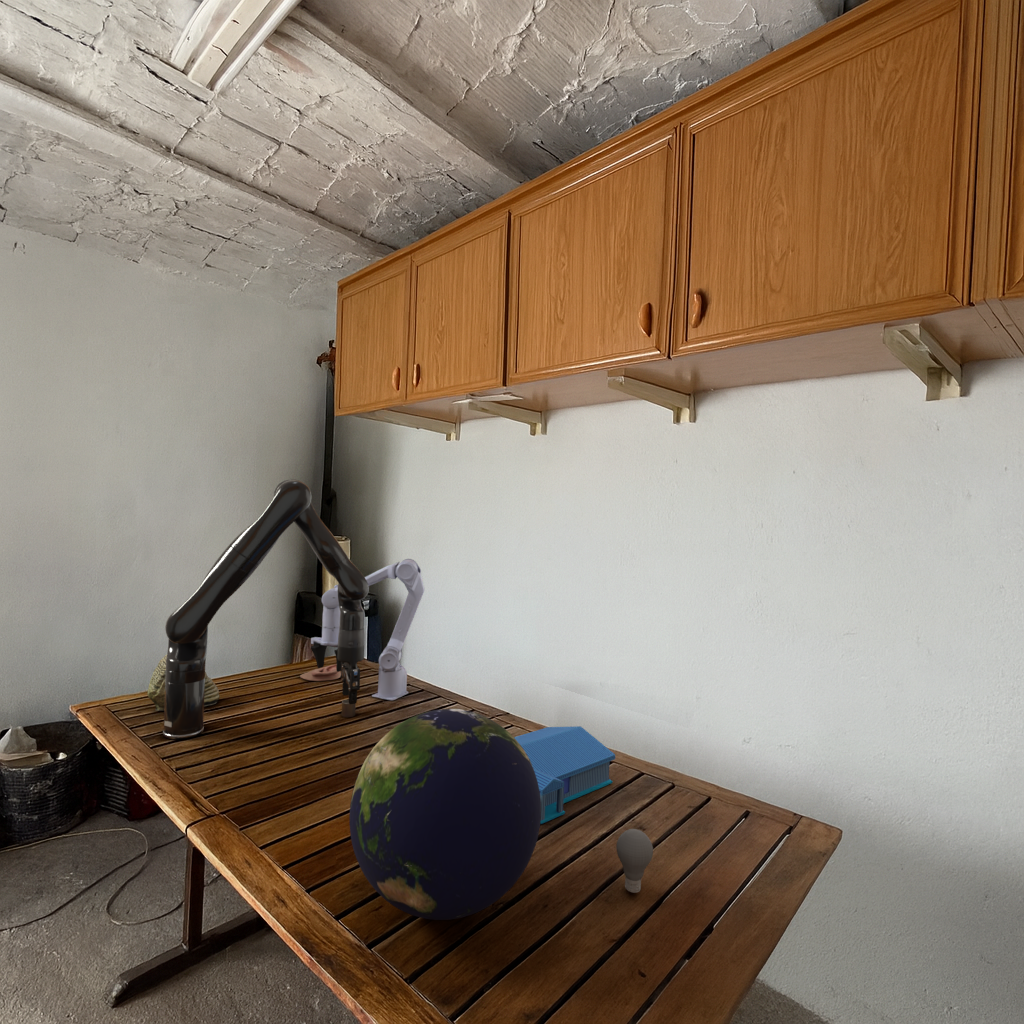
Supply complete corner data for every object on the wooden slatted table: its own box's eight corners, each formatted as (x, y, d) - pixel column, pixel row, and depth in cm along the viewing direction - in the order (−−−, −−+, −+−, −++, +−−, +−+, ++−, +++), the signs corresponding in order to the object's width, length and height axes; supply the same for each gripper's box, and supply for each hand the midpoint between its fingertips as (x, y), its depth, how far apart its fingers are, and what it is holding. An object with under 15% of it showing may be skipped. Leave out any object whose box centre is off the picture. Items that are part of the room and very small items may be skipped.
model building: (493, 845, 118) (495, 791, 117) (419, 795, 136) (421, 749, 136) (624, 787, 144) (626, 744, 144) (547, 752, 162) (548, 713, 162)
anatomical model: (295, 667, 216) (312, 659, 227) (295, 679, 216) (312, 670, 227) (331, 671, 213) (346, 663, 224) (330, 683, 213) (346, 674, 224)
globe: (303, 931, 92) (311, 727, 92) (410, 834, 120) (417, 677, 120) (490, 1000, 81) (500, 768, 81) (561, 876, 109) (569, 702, 108)
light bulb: (610, 879, 108) (613, 822, 108) (644, 879, 109) (647, 822, 109) (619, 902, 102) (622, 840, 102) (655, 901, 103) (658, 840, 103)
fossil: (144, 707, 182) (145, 655, 182) (212, 696, 194) (213, 647, 194) (151, 716, 175) (153, 662, 175) (221, 703, 188) (223, 653, 188)
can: (338, 715, 183) (339, 701, 183) (348, 711, 186) (349, 698, 186) (348, 718, 181) (348, 704, 181) (358, 714, 184) (358, 701, 184)
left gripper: (370, 648, 179) (368, 705, 179) (358, 637, 191) (356, 690, 192) (343, 650, 175) (341, 708, 176) (333, 639, 188) (331, 693, 188)
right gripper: (304, 625, 201) (303, 668, 201) (342, 631, 195) (340, 675, 195) (320, 622, 207) (318, 663, 207) (356, 627, 201) (354, 670, 202)
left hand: (349, 699), depth 184 cm, fingers open, 8 cm apart
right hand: (330, 669), depth 202 cm, fingers open, 7 cm apart
